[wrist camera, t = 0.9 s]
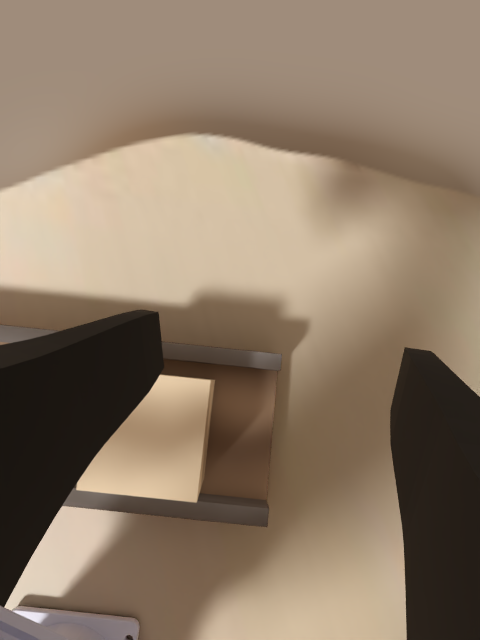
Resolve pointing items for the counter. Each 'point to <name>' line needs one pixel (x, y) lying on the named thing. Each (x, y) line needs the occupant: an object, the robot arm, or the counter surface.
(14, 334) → the guide track
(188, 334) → the counter surface
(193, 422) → the beige box
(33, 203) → the counter surface
